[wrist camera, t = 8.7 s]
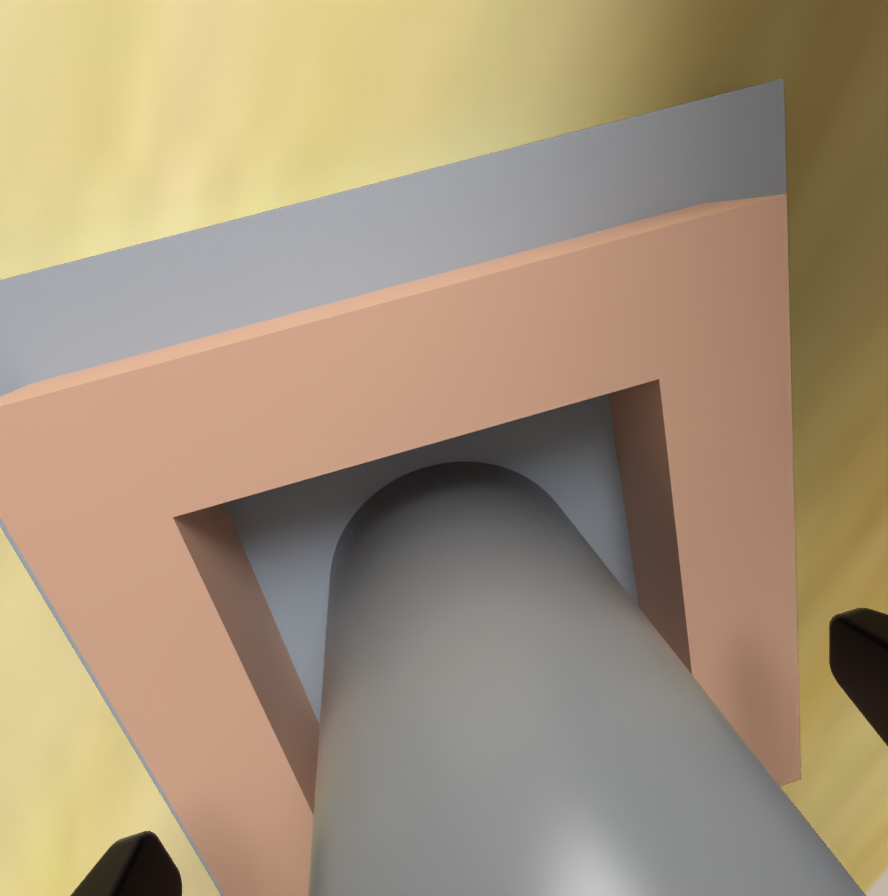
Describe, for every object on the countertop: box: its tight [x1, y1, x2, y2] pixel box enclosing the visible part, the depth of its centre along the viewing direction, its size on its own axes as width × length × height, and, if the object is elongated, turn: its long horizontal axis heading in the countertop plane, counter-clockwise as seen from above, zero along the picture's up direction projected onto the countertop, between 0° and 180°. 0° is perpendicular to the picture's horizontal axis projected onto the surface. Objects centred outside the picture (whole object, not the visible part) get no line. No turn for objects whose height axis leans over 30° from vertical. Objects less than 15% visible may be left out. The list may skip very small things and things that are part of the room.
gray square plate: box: [0, 78, 801, 896], centre depth 10 cm, size 14×14×3 cm
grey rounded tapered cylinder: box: [308, 461, 866, 896], centre depth 7 cm, size 5×5×9 cm
